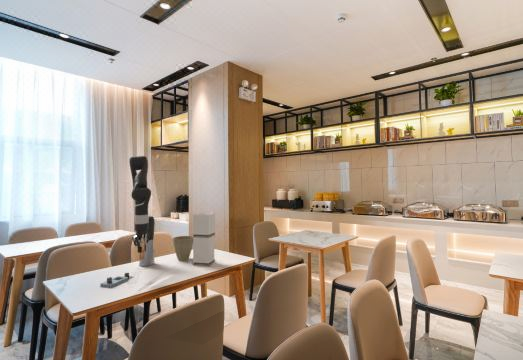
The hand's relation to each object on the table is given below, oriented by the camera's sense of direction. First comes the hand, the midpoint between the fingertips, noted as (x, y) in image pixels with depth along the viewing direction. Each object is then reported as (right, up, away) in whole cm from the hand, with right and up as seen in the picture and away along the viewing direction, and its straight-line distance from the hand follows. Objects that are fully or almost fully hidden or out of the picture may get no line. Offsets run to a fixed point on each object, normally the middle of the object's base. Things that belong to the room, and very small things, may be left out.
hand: (141, 251), depth 168 cm
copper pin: (0, -4, 0) cm, 4 cm away
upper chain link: (-11, -16, -9) cm, 22 cm away
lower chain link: (-10, -16, -4) cm, 19 cm away
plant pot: (+12, -17, +44) cm, 49 cm away
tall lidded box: (+30, -17, +33) cm, 47 cm away
